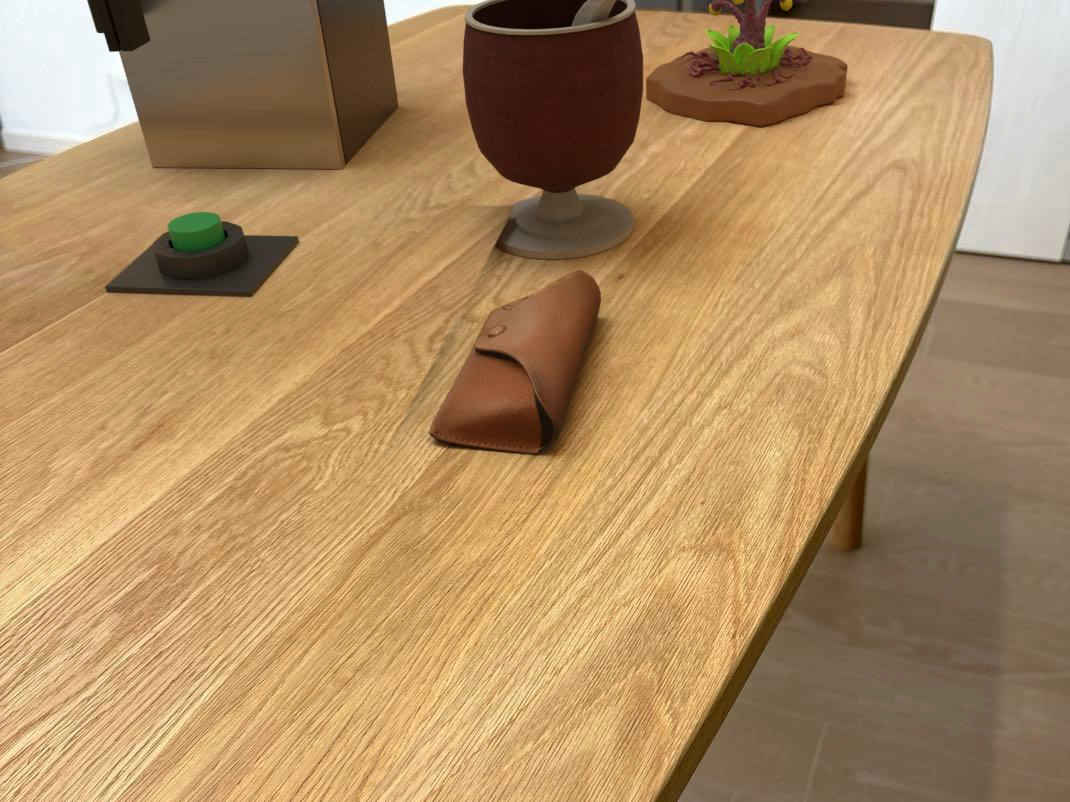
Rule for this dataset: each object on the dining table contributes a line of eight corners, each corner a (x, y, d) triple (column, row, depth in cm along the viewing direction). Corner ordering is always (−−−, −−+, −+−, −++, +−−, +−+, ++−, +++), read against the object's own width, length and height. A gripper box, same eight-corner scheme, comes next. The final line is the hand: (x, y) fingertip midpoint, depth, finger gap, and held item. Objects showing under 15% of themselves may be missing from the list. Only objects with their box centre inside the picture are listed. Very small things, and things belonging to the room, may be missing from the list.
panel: (113, 312, 83) (96, 264, 81) (171, 257, 91) (157, 212, 88) (256, 317, 81) (244, 268, 78) (303, 261, 88) (293, 214, 86)
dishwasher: (346, 165, 106) (296, -122, 91) (158, 164, 110) (79, -111, 94) (399, 107, 119) (362, -150, 104) (230, 108, 123) (171, -140, 108)
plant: (614, 105, 115) (612, -9, 108) (715, 59, 126) (719, -47, 119) (777, 136, 105) (786, 12, 98) (871, 83, 116) (886, -32, 109)
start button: (164, 253, 82) (158, 231, 81) (187, 232, 85) (181, 211, 84) (212, 254, 82) (206, 232, 81) (233, 233, 85) (228, 212, 84)
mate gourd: (446, 232, 91) (415, -28, 79) (566, 185, 98) (555, -61, 85) (567, 285, 82) (554, 0, 69) (692, 230, 88) (699, -40, 76)
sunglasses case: (487, 305, 79) (527, 231, 75) (570, 351, 80) (614, 281, 76) (422, 441, 65) (467, 360, 61) (523, 494, 66) (574, 419, 62)
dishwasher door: (320, 191, 100) (263, -105, 85) (124, 188, 104) (36, -95, 89) (345, 164, 106) (295, -119, 90) (157, 163, 109) (79, -109, 94)
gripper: (-147, -393, 58) (15, 63, 73) (72, -419, 56) (194, 59, 71) (-62, -388, 64) (73, 34, 79) (140, -412, 62) (240, 29, 76)
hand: (130, 45), depth 75 cm, fingers closed
